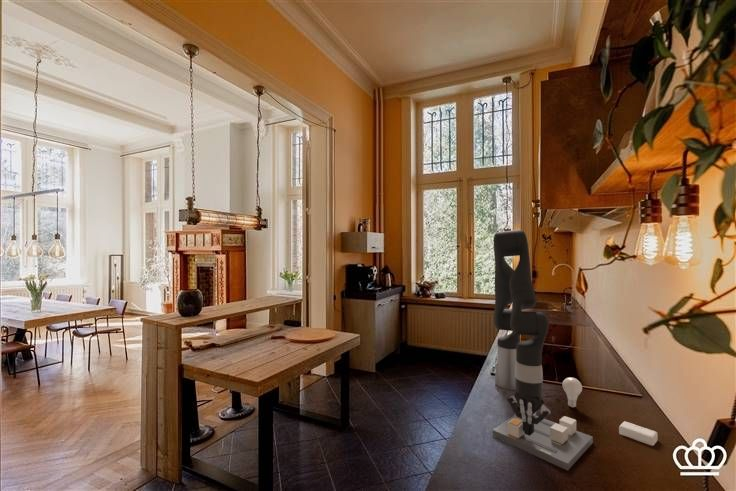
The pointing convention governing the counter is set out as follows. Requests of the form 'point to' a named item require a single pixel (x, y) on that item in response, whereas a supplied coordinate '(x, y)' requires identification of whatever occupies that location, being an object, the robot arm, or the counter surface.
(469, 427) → the counter surface
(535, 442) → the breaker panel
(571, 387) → the lightbulb
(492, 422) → the counter surface
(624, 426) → the soap
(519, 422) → the block
